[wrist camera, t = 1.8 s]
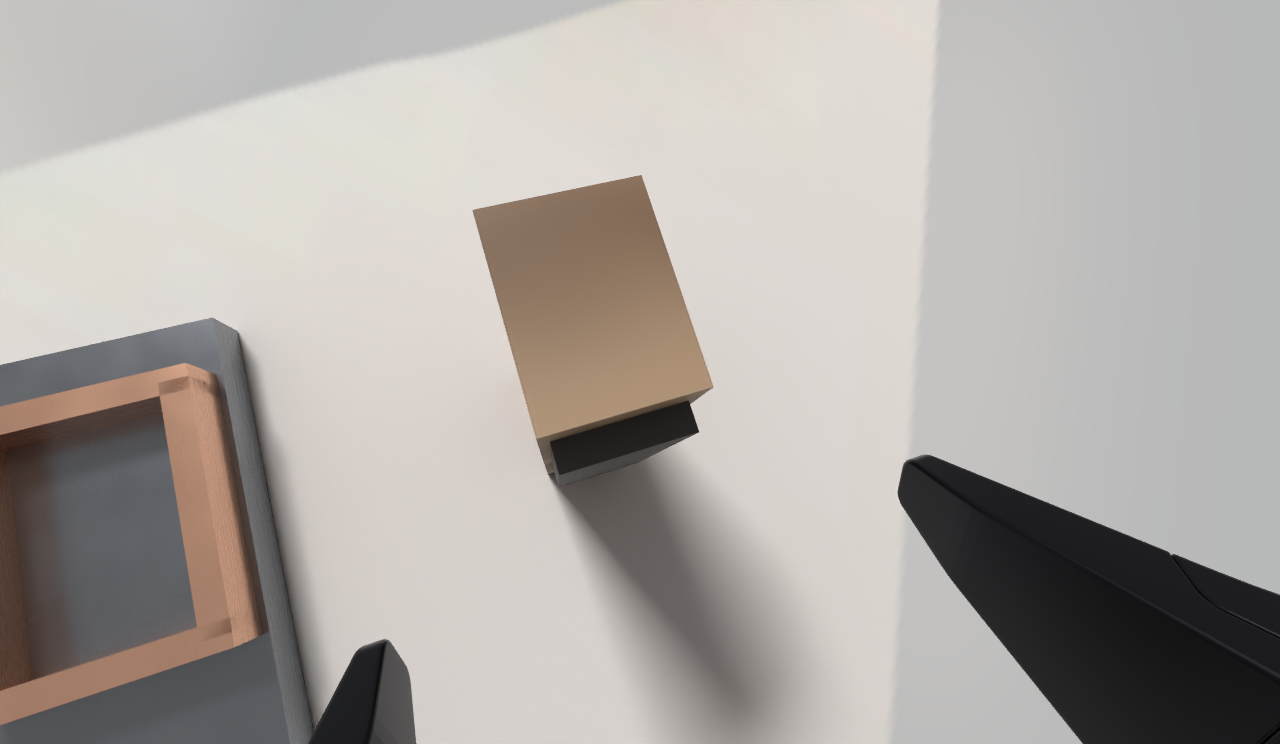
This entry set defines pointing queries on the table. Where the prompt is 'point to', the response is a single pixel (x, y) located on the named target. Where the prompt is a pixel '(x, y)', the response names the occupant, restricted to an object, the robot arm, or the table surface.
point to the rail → (141, 550)
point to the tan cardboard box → (594, 325)
